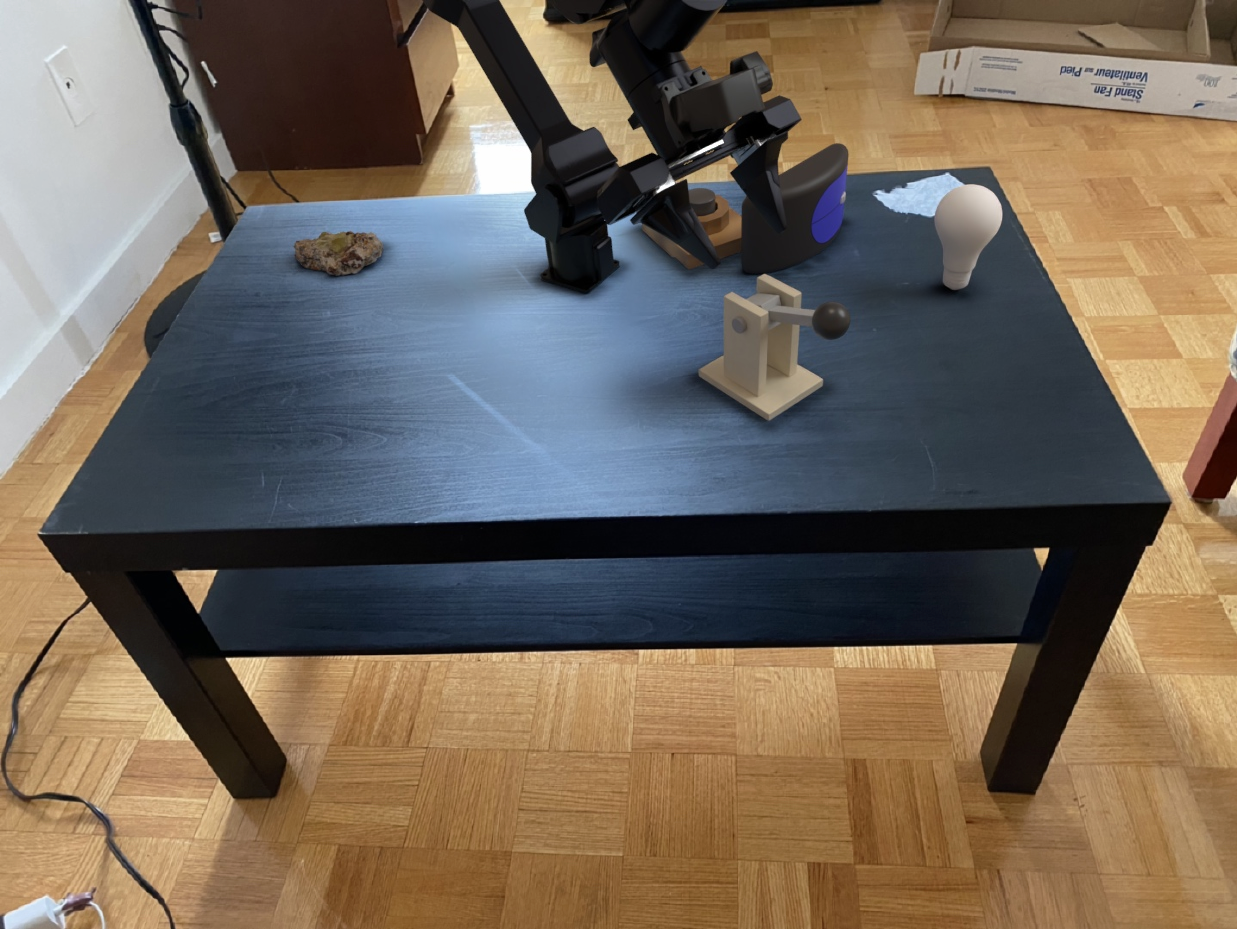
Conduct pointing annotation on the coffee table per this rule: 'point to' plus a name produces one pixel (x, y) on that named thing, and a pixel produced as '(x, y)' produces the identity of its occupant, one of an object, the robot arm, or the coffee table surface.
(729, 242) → the button block
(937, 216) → the lightbulb
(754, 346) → the switch bracket
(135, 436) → the coffee table surface
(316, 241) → the mineral rock
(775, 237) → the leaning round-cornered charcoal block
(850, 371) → the coffee table surface
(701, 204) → the button
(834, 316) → the switch lever
